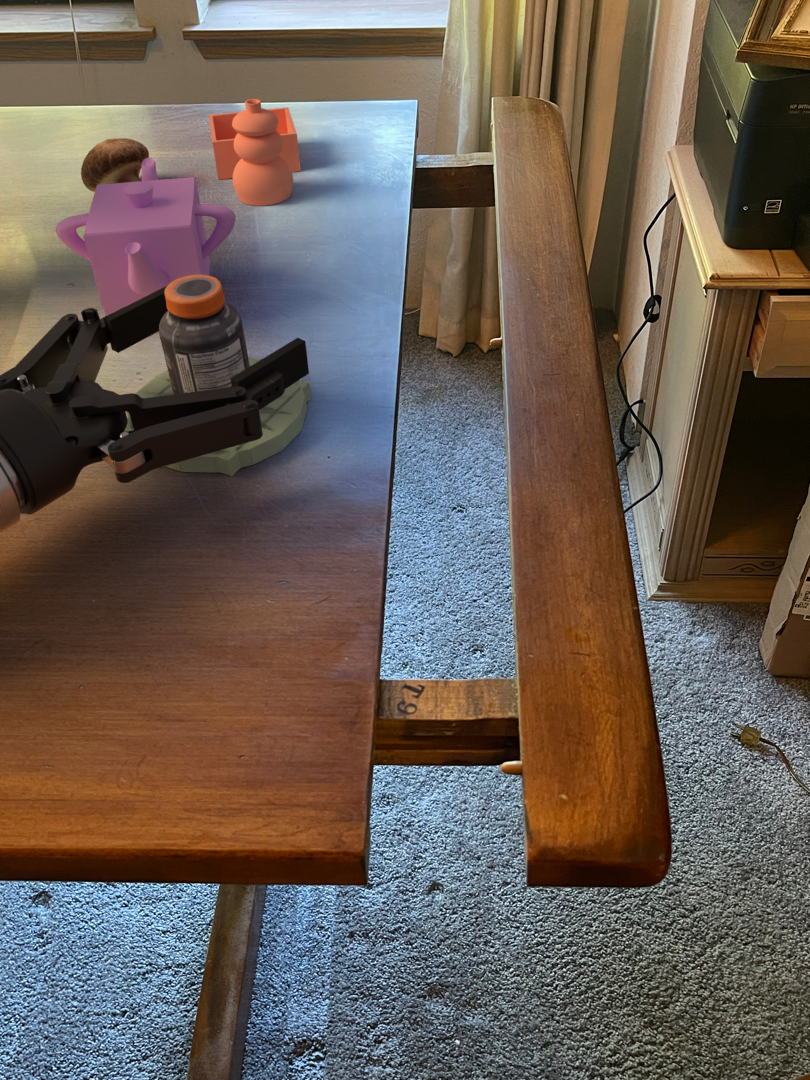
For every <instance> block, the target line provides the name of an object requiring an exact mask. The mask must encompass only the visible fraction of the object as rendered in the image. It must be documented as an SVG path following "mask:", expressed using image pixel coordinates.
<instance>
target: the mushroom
mask: <svg viewBox="0 0 810 1080" xmlns="http://www.w3.org/2000/svg"><path fill="white" fill-rule="evenodd" d="M146 158H150V152H149V150H148V148H147V147H146V146H145V144H143V143H141V142H139V141H138V140H135V139H131V138H127V137H126V138H125V137H121V138H119V137H118V138H107V139H105V140H103V141H101V142H99V143H97V144H95V145H94V146H93V148H91V149H90V150H89V151H88V153H87V154H86V156H85V157H84V158H83V160H82V161H83V162H82V165H81V168H80V170H81V171H80V177H81V181H82V183H83V186H85V188H86V189H87V190H89V191H91V192H92V193H95V190H96V187H97V185H102V184H115V183H127V182H139V181H142V178H140V173H141V171H142V162H143V160H144V159H146Z"/></svg>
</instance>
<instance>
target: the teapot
mask: <svg viewBox="0 0 810 1080" xmlns="http://www.w3.org/2000/svg"><path fill="white" fill-rule="evenodd" d="M89 208H90V209H89V211H88V212H87V213H81V214H76V215H71V216H68V217H66V218H64V219H62V220H60V221H59V222H58V223H57V224H56V226H55V234H56V236H57V238H58V240H60V241H61V243H62V244H63V245H64V246H65V247H67V248H68V249H69V250H71V251H72V252H74V253H75V254H77V255H79V256H80V257H82V258H84V259H86V260H88V261H89V262H90V266H91V270H92V274H93V277H94V281H95V285H96V288H97V293H98V295H99V300H100V304H101V307H102V310H103V314H104V317H105V316H107V315H109V314H111V313H114V312H115V311H118V310H119V309H121V308H123V307H126V306H128V305H130V304H132V303H134V302H136V301H138V300H140V299H142V298H144V297H145V296H147V295H149V294H151V293H153V292H155V291H157V290H159V289H161V288H163V287H165V286H167V285H169V284H170V283H171V282H173V281H174V280H176V279H179V278H182V277H185V276H190V275H208V276H210V271H211V270H210V268H211V257H210V255H211V254H212V253H213V252H214V251H215V250H216V249H217V248H218V247H220V245H221V244H223V242H224V241H225V240H226V239H228V237H229V236H230V234H231V233H232V231H233V229H234V227H235V225H236V224H235V223H236V214H235V212H234V211H233V210H232V209H231V208H229V207H227V206H225V205H220V204H210V203H202V204H201V201H200V196H199V190H198V185H197V178H196V177H195V176H192V177H181V178H180V177H179V178H165V179H159V178H158V173H157V165H156V161H155V159H154V158H153V157H149V158H146V159H144V160H143V162H142V168H141V181H139V182H127V183H115V184H102V185H97V187H96V190H95V192H94V194H93V198H92V200H91V204H90V207H89ZM203 217H210V218H214V219H215V220H216V224H215V226H214V229H213V231H212V232H211V234H210V236H209V237H208V238H207V233H206V229H205V223H204V218H203ZM81 227H84V232H83V236H82V237H83V238H82V237H81V236H80V235H79V234H78V232H77V229H79V228H81Z"/></svg>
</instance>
